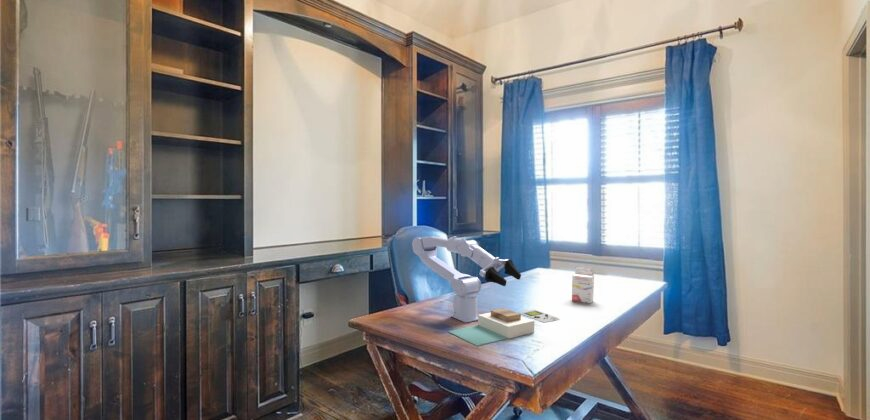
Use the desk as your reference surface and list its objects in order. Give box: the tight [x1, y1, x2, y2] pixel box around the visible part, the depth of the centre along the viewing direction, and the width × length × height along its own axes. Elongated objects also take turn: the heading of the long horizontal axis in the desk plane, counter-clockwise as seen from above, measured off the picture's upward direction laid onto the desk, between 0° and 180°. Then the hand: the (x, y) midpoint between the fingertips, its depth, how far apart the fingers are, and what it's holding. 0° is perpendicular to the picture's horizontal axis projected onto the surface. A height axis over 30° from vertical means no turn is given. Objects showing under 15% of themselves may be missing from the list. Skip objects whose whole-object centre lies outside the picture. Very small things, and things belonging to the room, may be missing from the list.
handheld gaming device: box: [518, 309, 560, 323], centre depth 162 cm, size 9×1×15 cm
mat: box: [448, 324, 508, 347], centre depth 139 cm, size 16×13×1 cm
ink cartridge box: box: [571, 266, 595, 304], centre depth 185 cm, size 9×5×15 cm, turn 58°
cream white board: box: [477, 311, 535, 340], centre depth 146 cm, size 16×12×4 cm
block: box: [490, 307, 522, 322], centre depth 146 cm, size 9×6×2 cm, turn 32°
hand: (512, 280), depth 142 cm, fingers open, 7 cm apart
